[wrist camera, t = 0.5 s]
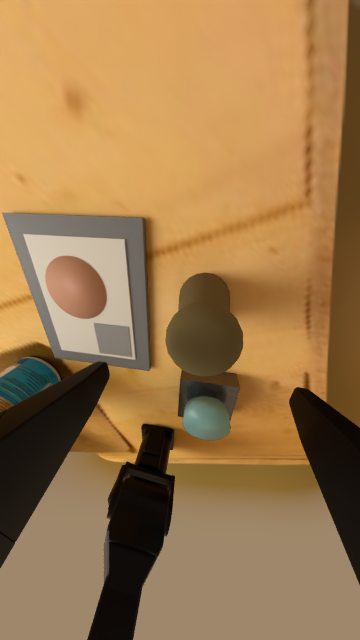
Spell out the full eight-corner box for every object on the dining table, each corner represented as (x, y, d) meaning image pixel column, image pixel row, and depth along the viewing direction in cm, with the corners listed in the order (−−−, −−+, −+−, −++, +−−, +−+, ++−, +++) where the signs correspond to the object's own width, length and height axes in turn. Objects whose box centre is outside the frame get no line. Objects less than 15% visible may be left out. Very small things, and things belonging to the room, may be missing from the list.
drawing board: (150, 367, 25) (148, 372, 24) (58, 354, 27) (53, 358, 26) (144, 219, 17) (141, 217, 16) (9, 213, 18) (-2, 212, 17)
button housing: (227, 409, 27) (228, 424, 25) (180, 402, 28) (177, 416, 26) (236, 374, 24) (239, 387, 21) (182, 366, 24) (180, 379, 22)
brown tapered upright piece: (223, 265, 18) (246, 292, 8) (234, 314, 20) (263, 384, 10) (172, 282, 19) (137, 322, 9) (187, 325, 21) (173, 396, 11)
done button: (224, 428, 23) (226, 443, 21) (183, 421, 24) (181, 435, 22) (232, 400, 21) (234, 414, 19) (186, 393, 21) (184, 406, 19)
